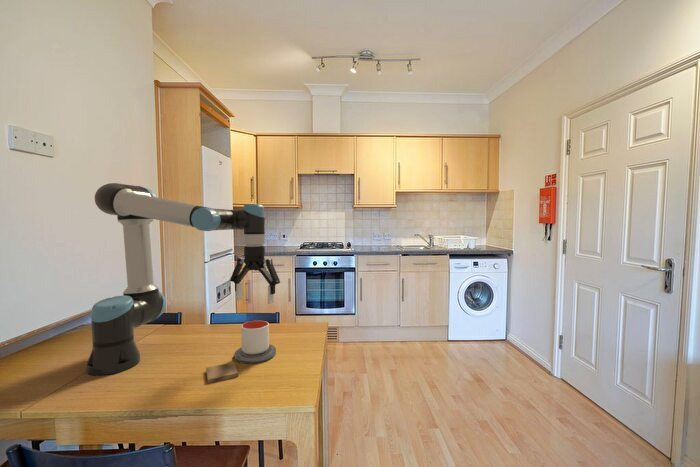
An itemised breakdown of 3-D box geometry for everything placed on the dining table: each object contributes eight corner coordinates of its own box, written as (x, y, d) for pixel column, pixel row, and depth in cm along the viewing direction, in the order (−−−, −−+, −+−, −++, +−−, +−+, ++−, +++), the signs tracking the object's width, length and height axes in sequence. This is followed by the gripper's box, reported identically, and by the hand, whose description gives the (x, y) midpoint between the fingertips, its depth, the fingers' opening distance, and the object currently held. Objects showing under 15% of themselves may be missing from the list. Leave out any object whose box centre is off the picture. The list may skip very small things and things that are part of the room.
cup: (257, 343, 127) (257, 318, 126) (274, 349, 121) (274, 323, 120) (236, 351, 119) (235, 325, 118) (252, 358, 113) (252, 330, 112)
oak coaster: (208, 383, 99) (207, 379, 99) (206, 371, 107) (206, 367, 107) (238, 376, 103) (238, 372, 103) (234, 365, 111) (234, 362, 111)
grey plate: (232, 365, 111) (232, 360, 111) (237, 348, 125) (237, 344, 125) (275, 361, 114) (275, 356, 114) (275, 345, 129) (275, 341, 129)
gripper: (289, 245, 118) (289, 301, 119) (232, 244, 125) (233, 296, 126) (278, 247, 111) (279, 306, 112) (219, 245, 118) (220, 301, 119)
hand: (254, 301), depth 119 cm, fingers open, 13 cm apart
